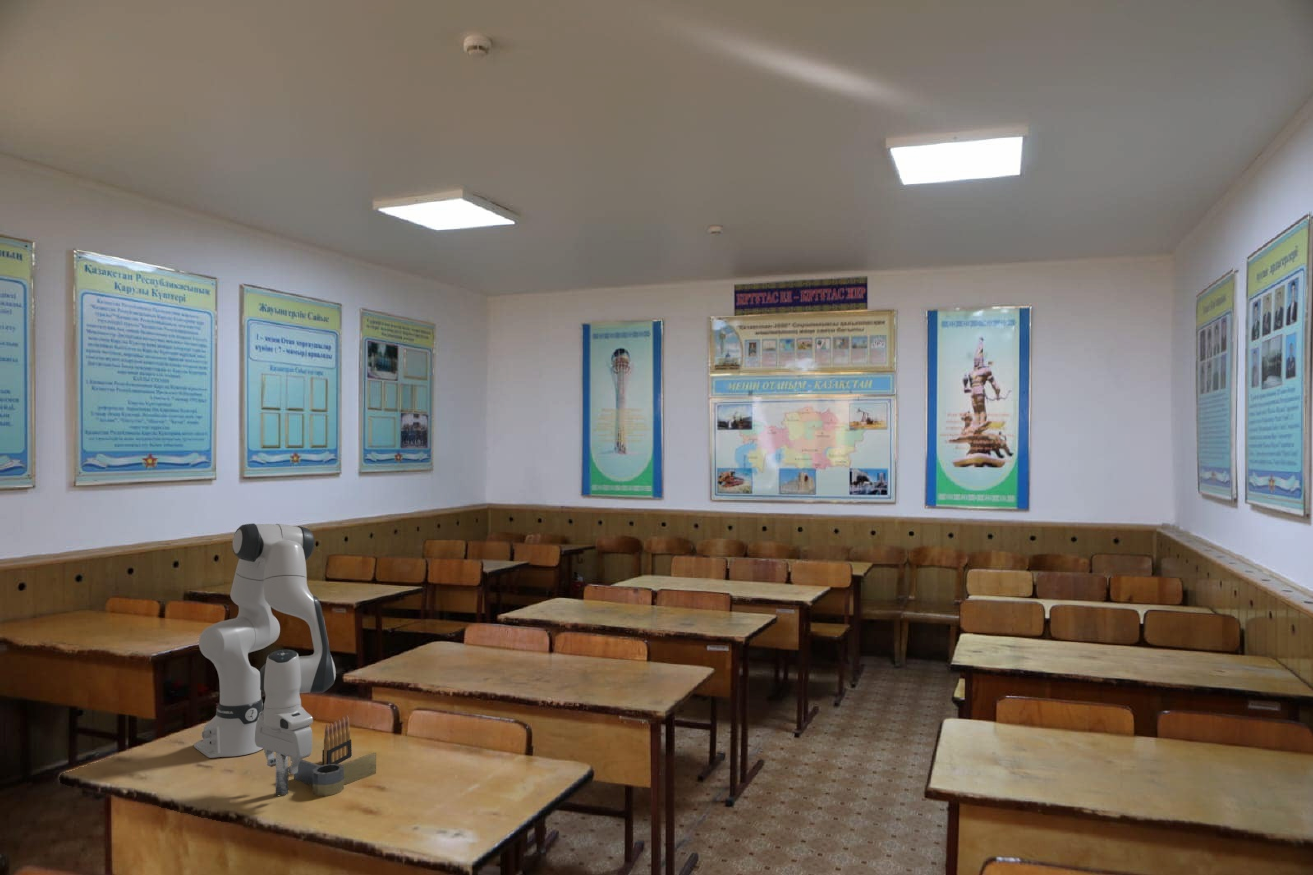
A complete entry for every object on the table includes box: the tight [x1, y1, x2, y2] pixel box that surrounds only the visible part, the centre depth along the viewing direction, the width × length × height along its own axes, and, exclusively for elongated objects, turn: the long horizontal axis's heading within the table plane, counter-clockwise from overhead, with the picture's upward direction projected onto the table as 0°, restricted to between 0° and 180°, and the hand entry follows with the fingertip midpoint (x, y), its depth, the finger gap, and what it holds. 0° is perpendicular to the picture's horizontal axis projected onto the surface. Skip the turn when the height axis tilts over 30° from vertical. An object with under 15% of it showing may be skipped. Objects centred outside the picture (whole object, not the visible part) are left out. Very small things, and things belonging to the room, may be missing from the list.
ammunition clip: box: [321, 715, 353, 766], centre depth 243 cm, size 11×2×12 cm, turn 163°
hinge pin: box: [275, 752, 289, 796], centre depth 221 cm, size 3×3×12 cm
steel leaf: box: [293, 759, 344, 787], centre depth 226 cm, size 18×7×6 cm, turn 56°
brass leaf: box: [312, 752, 377, 797], centre depth 227 cm, size 7×18×6 cm, turn 146°
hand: (282, 769), depth 221 cm, fingers open, 8 cm apart
